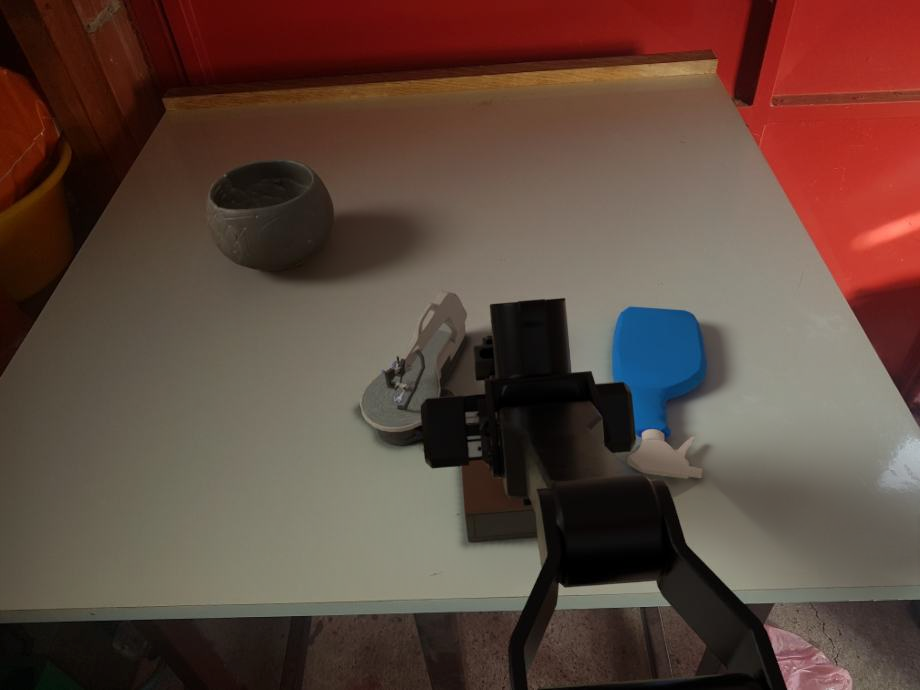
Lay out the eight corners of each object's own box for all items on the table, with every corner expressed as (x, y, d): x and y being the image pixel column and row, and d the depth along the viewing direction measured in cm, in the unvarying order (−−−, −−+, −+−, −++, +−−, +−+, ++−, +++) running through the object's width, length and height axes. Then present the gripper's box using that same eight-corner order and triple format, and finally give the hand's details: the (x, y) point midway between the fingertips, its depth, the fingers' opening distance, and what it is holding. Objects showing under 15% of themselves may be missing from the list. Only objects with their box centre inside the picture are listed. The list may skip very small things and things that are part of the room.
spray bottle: (614, 303, 88) (608, 459, 71) (704, 309, 86) (719, 471, 69) (613, 320, 90) (605, 476, 73) (700, 326, 88) (713, 488, 71)
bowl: (211, 246, 109) (183, 174, 101) (318, 210, 115) (301, 139, 106) (241, 308, 98) (213, 232, 89) (359, 264, 103) (343, 190, 94)
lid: (459, 429, 73) (455, 396, 69) (579, 419, 73) (581, 385, 69) (465, 515, 65) (461, 482, 62) (598, 503, 65) (602, 470, 61)
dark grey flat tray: (462, 463, 75) (459, 435, 72) (578, 453, 75) (580, 425, 72) (468, 542, 68) (465, 515, 65) (595, 531, 68) (598, 504, 65)
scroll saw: (408, 262, 85) (495, 280, 81) (417, 326, 92) (498, 345, 88) (323, 373, 72) (422, 401, 68) (341, 437, 79) (432, 465, 75)
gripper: (642, 321, 55) (604, 330, 71) (408, 341, 55) (421, 346, 71) (656, 461, 55) (614, 439, 70) (420, 481, 55) (431, 455, 71)
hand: (520, 417), depth 71 cm, fingers closed on lid, 5 cm apart
